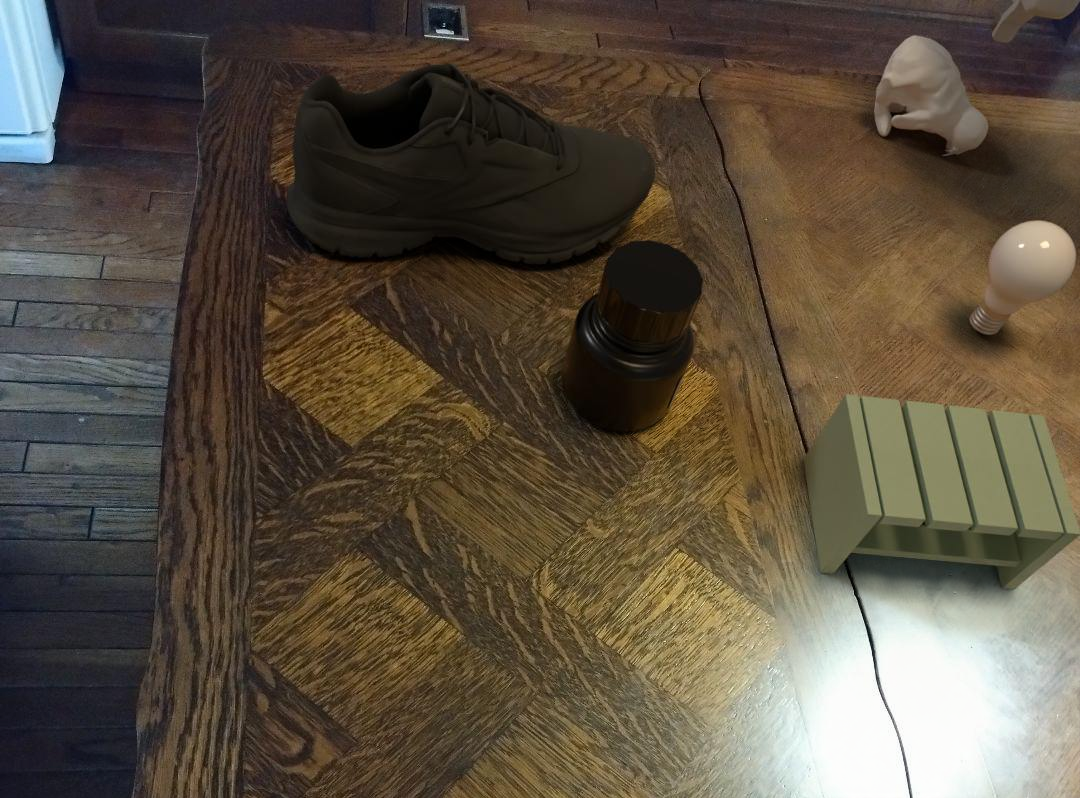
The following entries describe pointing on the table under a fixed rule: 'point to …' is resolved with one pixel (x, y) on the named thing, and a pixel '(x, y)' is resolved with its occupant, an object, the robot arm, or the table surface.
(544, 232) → the running shoe
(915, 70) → the white animal figurine
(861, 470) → the stool
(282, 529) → the table surface
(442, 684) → the table surface
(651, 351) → the ink bottle
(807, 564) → the table surface
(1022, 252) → the lightbulb
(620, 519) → the table surface
